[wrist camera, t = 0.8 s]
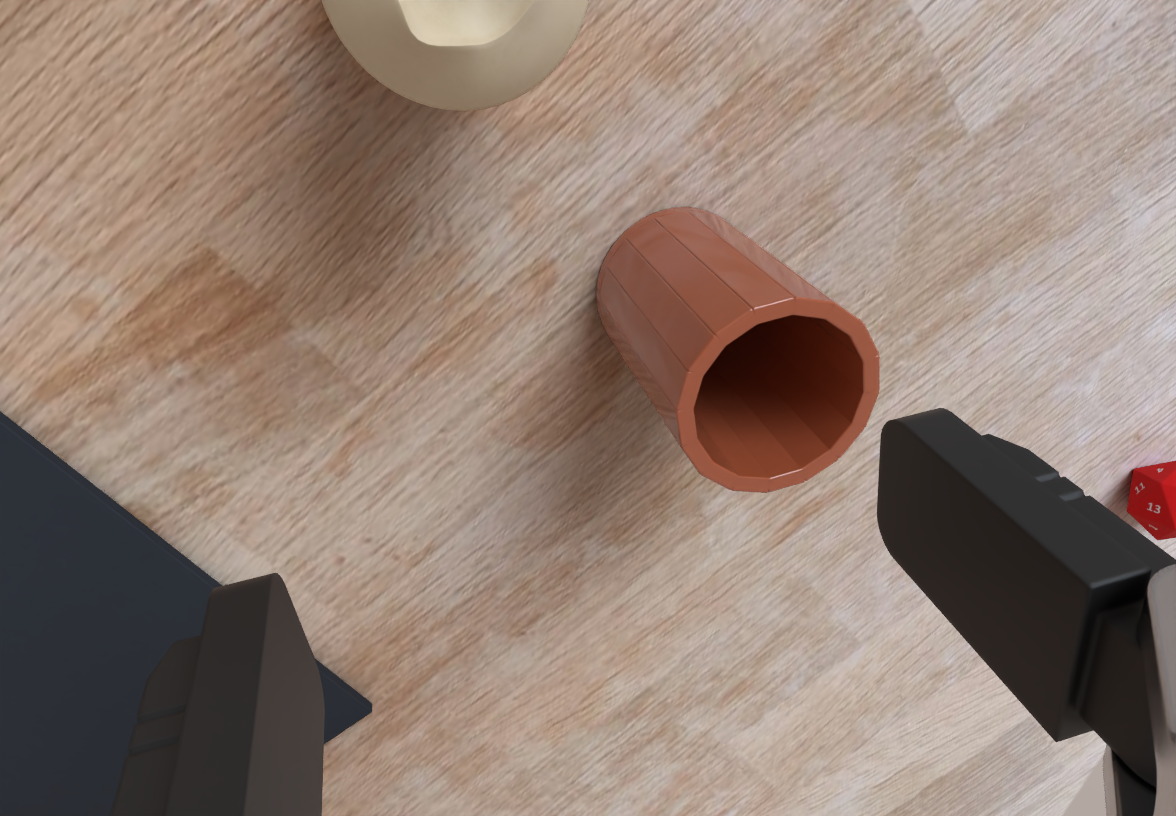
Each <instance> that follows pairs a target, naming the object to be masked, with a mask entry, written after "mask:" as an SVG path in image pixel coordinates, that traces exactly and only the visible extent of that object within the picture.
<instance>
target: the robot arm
mask: <svg viewBox="0 0 1176 816" xmlns="http://www.w3.org/2000/svg"><path fill="white" fill-rule="evenodd" d="M877 519H878V525H879V529H880V533H881V536H882V539H883V541H884V543H885V545H886V547H887V549H888V551H889V553H890V554H891V556H892V557H893V558H894V559H895V560H896V562H897V563H898V564H899V565H900V566H901V567H902V568H903V570H904V571H905V572H906V573H907V574H908V575H909V576H910V577H911V579H912V580H913V581H914V582H915V583H916V584H917V585H918V587H919V588H920V589H921V590H922V591H923V592H924V593H925V594H926V596H927V597H928V598H929V599H930V600H931V601H932V602H933V603H934V605H935V606H936V607H937V608H938V609H939V610H940V611H941V613H942V614H943V615H944V616H945V617H946V618H947V619H948V620H949V622H950V623H951V624H952V625H953V626H954V627H955V628H956V630H957V631H958V632H959V633H960V634H961V635H962V636H963V637H964V639H965V640H966V641H967V642H968V643H969V644H970V645H971V646H972V648H973V649H974V650H975V651H976V652H977V653H978V654H979V656H980V657H981V658H982V659H983V660H984V661H985V662H986V663H987V665H988V666H989V667H990V668H991V669H992V670H993V671H994V673H995V674H996V675H997V676H998V677H999V678H1000V679H1001V680H1002V682H1003V683H1004V684H1005V685H1006V686H1007V687H1008V688H1009V690H1010V691H1011V692H1012V693H1013V694H1014V695H1015V696H1016V697H1017V699H1018V700H1019V701H1020V702H1021V703H1022V704H1023V705H1024V706H1025V708H1026V709H1027V710H1028V711H1029V712H1030V713H1031V714H1032V716H1033V717H1034V718H1035V719H1036V720H1037V721H1038V722H1039V723H1040V725H1041V726H1042V727H1043V728H1044V729H1045V730H1046V731H1047V733H1048V734H1049V735H1050V736H1051V737H1052V738H1053V739H1054V740H1055V742H1058V741H1062V740H1065V739H1068V738H1071V737H1074V736H1077V735H1080V734H1083V733H1087V732H1090V731H1093V730H1094V731H1095V732H1096V733H1097V734H1098V735H1099V736H1100V737H1101V738H1102V739H1103V740H1104V742H1105V743H1106V744H1107V745H1106V749H1105V753H1104V756H1103V776H1104V788H1105V801H1106V815H1107V816H1176V560H1175V559H1174V558H1173V557H1171V556H1170V555H1169V554H1167V553H1166V552H1165V551H1163V550H1162V549H1161V548H1159V547H1158V546H1157V545H1155V544H1154V543H1153V542H1151V541H1150V540H1149V539H1147V538H1146V537H1145V536H1143V535H1142V534H1141V533H1139V532H1138V531H1137V530H1135V529H1134V528H1133V527H1131V526H1130V525H1129V524H1127V523H1126V522H1125V521H1123V520H1122V519H1121V518H1119V517H1118V516H1117V515H1115V514H1114V513H1113V512H1111V511H1110V510H1109V509H1107V508H1106V507H1105V506H1103V505H1102V504H1101V503H1099V502H1098V501H1097V500H1095V499H1094V498H1093V497H1091V496H1085V495H1084V493H1083V490H1082V489H1080V488H1079V487H1078V486H1076V485H1075V484H1074V483H1072V482H1071V481H1070V480H1068V479H1067V478H1066V477H1060V476H1059V472H1058V471H1056V470H1055V469H1054V468H1052V467H1051V466H1050V465H1048V464H1047V463H1046V462H1044V461H1043V460H1042V459H1040V458H1039V457H1038V456H1036V455H1035V454H1034V453H1032V452H1031V451H1030V450H1028V449H1026V448H1023V447H1021V446H1018V445H1015V444H1013V443H1010V442H1008V441H1005V440H1003V439H1000V438H998V437H995V436H993V435H990V434H987V435H983V436H981V435H980V434H979V433H977V432H976V431H975V430H974V429H972V428H971V427H970V426H968V425H967V424H966V423H965V422H963V421H962V420H961V419H959V418H958V417H957V416H956V415H954V414H953V413H952V412H950V411H949V410H947V409H944V408H938V409H934V410H930V411H926V412H922V413H918V414H914V415H910V416H906V417H902V418H898V419H894V420H890V421H888V422H886V424H885V425H884V427H883V429H882V433H881V443H880V463H879V483H878V502H877ZM324 716H325V709H324V696H323V689H322V683H321V679H320V674H319V670H318V667H317V664H316V661H315V658H314V656H313V653H312V651H311V648H310V646H309V643H308V641H307V638H306V636H305V633H304V631H303V628H302V626H301V623H300V621H299V618H298V616H297V613H296V611H295V608H294V606H293V603H292V601H291V598H290V596H289V593H288V591H287V588H286V586H285V583H284V581H283V580H282V578H281V577H280V575H279V574H278V573H273V574H269V575H265V576H261V577H257V578H253V579H249V580H245V581H241V582H237V583H233V584H229V585H225V586H221V587H217V588H214V589H213V590H212V591H211V593H210V595H209V599H208V604H207V608H206V613H205V618H204V623H203V627H202V632H201V635H199V636H195V637H192V638H188V639H184V640H180V641H176V642H174V643H173V644H172V646H171V647H170V648H169V650H168V651H167V652H166V654H165V655H164V656H163V658H162V659H161V661H160V662H159V663H158V665H157V666H156V667H155V669H154V670H153V672H152V673H151V674H150V676H149V677H148V678H147V681H146V684H145V688H144V692H143V695H142V699H141V703H140V706H139V710H138V714H137V721H138V724H136V725H134V728H133V732H132V736H131V739H130V743H129V747H128V751H129V757H126V758H125V761H124V765H123V769H122V772H121V776H120V780H119V784H118V787H117V791H116V795H115V798H114V802H113V806H112V809H111V813H110V816H322V783H323V749H324Z"/></svg>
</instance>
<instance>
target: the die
mask: <svg viewBox="0 0 1176 816" xmlns="http://www.w3.org/2000/svg"><path fill="white" fill-rule="evenodd" d="M1127 512H1128V513H1129V514H1130V515H1131V516H1132V517H1133V518H1134V519H1135V520H1137V521H1138V522H1139V523H1140V524H1141V525H1142V526H1143V527H1144V528H1145V529H1146V530H1147V531H1148V532H1149V533H1150V534H1151V535H1152V536H1153V537H1154V538H1155V539H1157V540H1163V539H1169V538H1176V461H1172V462H1167V463H1161V464H1156V465H1151V466H1146V467H1141V468H1136V469H1134V470H1133V476H1132V482H1131V488H1130V494H1129V500H1128V506H1127Z"/></svg>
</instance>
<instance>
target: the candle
mask: <svg viewBox="0 0 1176 816" xmlns="http://www.w3.org/2000/svg"><path fill="white" fill-rule="evenodd" d="M321 1H322V4H323V7H324V9H325V11H326V13H327V16H328V18H329V20H330V22H331V25H332V26H333V28H334V30H335V31H336V33H337V35H338V37H339V38H340V40H341V42H342V43H343V44H344V46H345V47H346V48H347V50H348V51H349V52H350V54H351V55H352V56H353V58H354V59H355V60H356V61H357V62H358V63H359V64H360V65H361V66H362V67H363V68H364V69H365V70H366V71H367V72H368V73H369V74H370V75H372V76H373V77H374V78H375V79H376V80H378V81H379V82H380V83H381V84H383V85H384V86H386V87H387V88H389V89H391V90H392V91H394V92H395V93H397V94H399V95H401V96H403V97H405V98H407V99H410V100H412V101H414V102H417V103H420V104H423V105H426V106H429V107H433V108H439V109H445V110H457V111H469V110H480V109H486V108H490V107H494V106H498V105H501V104H504V103H506V102H509V101H511V100H514V99H516V98H518V97H519V96H521V95H523V94H525V93H527V92H528V91H530V90H531V89H533V88H534V87H535V86H537V85H538V84H539V83H541V82H542V81H543V80H544V79H545V78H546V77H547V76H548V75H549V74H550V73H551V72H552V71H553V70H554V69H555V68H556V67H557V66H558V65H559V63H560V62H561V61H562V59H563V58H564V57H565V56H566V54H567V53H568V51H569V49H570V48H571V46H572V44H573V43H574V41H575V39H576V37H577V35H578V32H579V30H580V28H581V26H582V23H583V21H584V17H585V14H586V11H587V8H588V4H589V0H321Z"/></svg>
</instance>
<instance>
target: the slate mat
mask: <svg viewBox="0 0 1176 816" xmlns="http://www.w3.org/2000/svg"><path fill="white" fill-rule="evenodd" d="M221 586H222V585H220V584H219V583H218V582H217V581H215V580H214V579H213V578H212V577H210V576H209V575H208V574H206V573H205V572H204V571H203V570H201V569H200V568H199V567H198V566H196V565H195V564H194V563H192V562H191V561H190V560H189V559H187V558H186V557H185V556H184V555H182V554H181V553H180V552H178V551H177V550H176V549H175V548H173V547H172V546H171V545H170V544H168V543H167V542H166V541H164V540H163V539H162V538H161V537H159V536H158V535H157V534H156V533H154V532H153V531H152V530H150V529H149V528H148V527H147V526H145V525H144V524H143V523H142V522H140V521H139V520H138V519H136V518H135V517H134V516H133V515H131V514H130V513H129V512H128V511H126V510H125V509H124V508H122V507H121V506H120V505H119V504H117V503H116V502H115V501H114V500H112V499H111V498H110V497H108V496H107V495H106V494H105V493H103V492H102V491H101V490H100V489H98V488H97V487H96V486H94V485H93V484H92V483H91V482H89V481H88V480H87V479H86V478H84V477H83V476H82V475H81V474H79V473H78V472H77V471H75V470H74V469H73V468H72V467H70V466H69V465H68V464H67V463H65V462H64V461H63V460H61V459H60V458H59V457H58V456H56V455H55V454H54V453H53V452H51V451H50V450H49V449H47V448H46V447H45V446H44V445H42V444H41V443H40V442H39V441H37V440H36V439H35V438H33V437H32V436H31V435H30V434H28V433H27V432H26V431H25V430H23V429H22V428H21V427H19V426H18V425H17V424H16V423H14V422H13V421H12V420H11V419H9V418H8V417H7V416H5V415H4V414H3V413H2V412H0V816H110V813H111V809H112V806H113V802H114V798H115V795H116V791H117V787H118V784H119V780H120V776H121V772H122V769H123V765H124V761H125V758H126V757H129V751H128V747H129V743H130V739H131V736H132V732H133V728H134V725H136V724H138V721H137V714H138V710H139V706H140V703H141V699H142V695H143V692H144V688H145V684H146V681H147V678H148V677H149V676H150V674H151V673H152V672H153V670H154V669H155V667H156V666H157V665H158V663H159V662H160V661H161V659H162V658H163V656H164V655H165V654H166V652H167V651H168V650H169V648H170V647H171V646H172V644H173V643H174V642H176V641H180V640H184V639H188V638H192V637H195V636H199V635H201V632H202V627H203V623H204V618H205V613H206V608H207V604H208V599H209V595H210V593H211V591H212V590H213V589H214V588H217V587H221ZM315 661H316V664H317V667H318V670H319V674H320V679H321V683H322V689H323V696H324V709H325V716H324V744H325V743H326V742H328V741H329V740H331V739H332V738H334V737H335V736H337V735H338V734H340V733H341V732H343V731H344V730H346V729H347V728H349V727H350V726H352V725H353V724H355V723H356V722H358V721H359V720H361V719H362V718H364V717H365V716H367V715H368V714H370V713H371V712H372V703H371V702H369V701H368V700H367V699H365V698H364V697H363V696H362V695H360V694H359V693H358V692H357V691H355V690H354V689H353V688H351V687H350V686H349V685H348V684H346V683H345V682H344V681H343V680H341V679H340V678H339V677H337V676H336V675H335V674H334V673H332V672H331V671H330V670H329V669H327V668H326V667H325V666H324V665H322V664H321V663H320V662H318V661H317V660H316V659H315Z"/></svg>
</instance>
